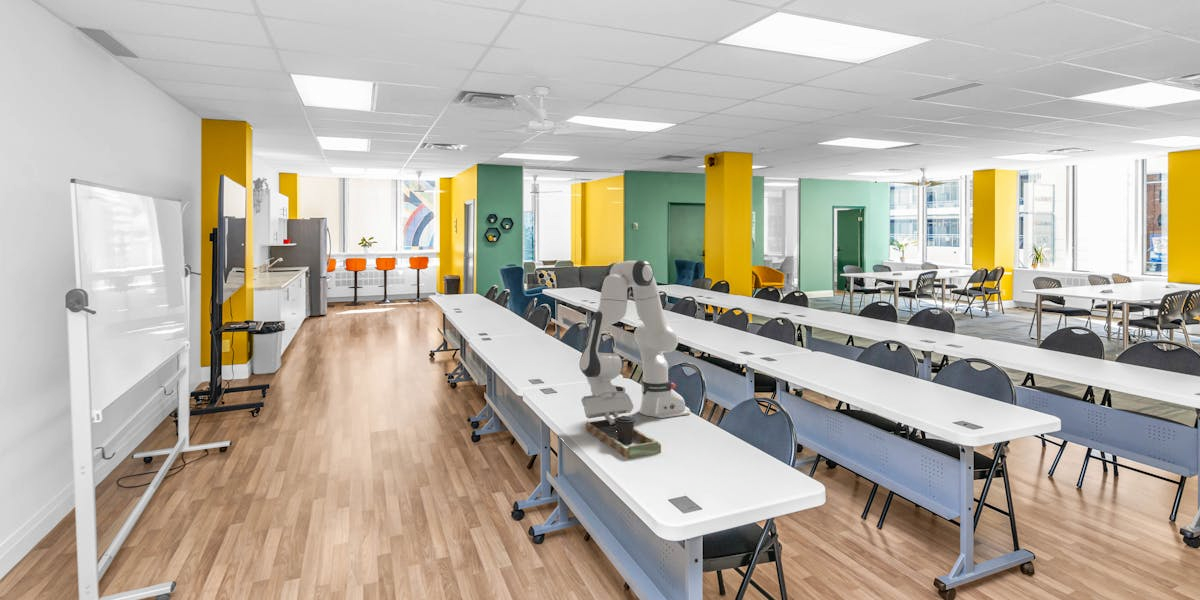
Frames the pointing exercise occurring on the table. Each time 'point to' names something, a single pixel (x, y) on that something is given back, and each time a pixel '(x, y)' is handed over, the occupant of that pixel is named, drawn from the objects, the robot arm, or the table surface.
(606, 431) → the mats
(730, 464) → the table surface
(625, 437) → the coffee cup
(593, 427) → the trap box
